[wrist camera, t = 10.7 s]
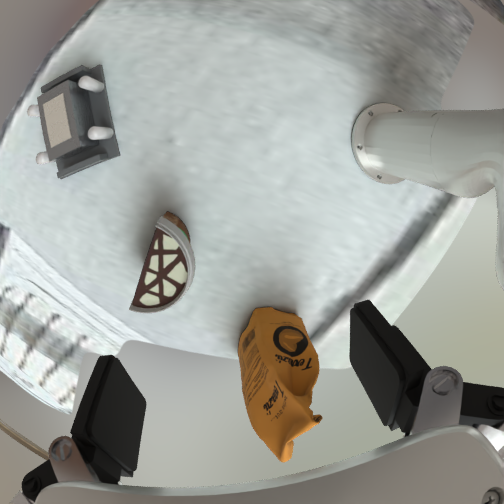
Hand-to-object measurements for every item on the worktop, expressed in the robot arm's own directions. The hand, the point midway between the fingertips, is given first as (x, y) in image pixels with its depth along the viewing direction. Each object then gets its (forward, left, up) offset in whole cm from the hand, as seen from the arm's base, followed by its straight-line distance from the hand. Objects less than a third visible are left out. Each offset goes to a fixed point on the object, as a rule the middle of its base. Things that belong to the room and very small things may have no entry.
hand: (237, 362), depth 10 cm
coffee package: (-2, +24, -30) cm, 39 cm away
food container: (+8, +5, -30) cm, 32 cm away
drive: (+17, -17, -29) cm, 38 cm away
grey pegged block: (+17, -17, -30) cm, 38 cm away
